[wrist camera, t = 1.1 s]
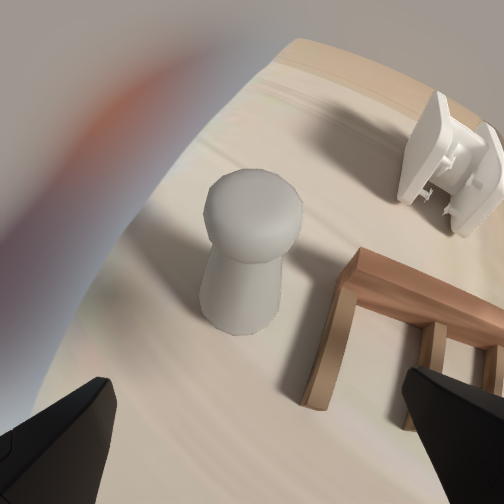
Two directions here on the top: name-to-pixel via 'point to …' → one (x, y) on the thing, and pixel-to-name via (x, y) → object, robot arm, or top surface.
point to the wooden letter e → (406, 321)
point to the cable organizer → (454, 165)
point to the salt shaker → (247, 248)
